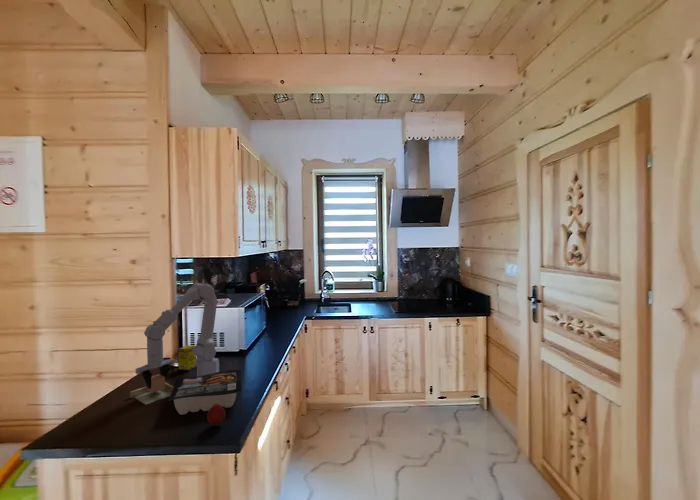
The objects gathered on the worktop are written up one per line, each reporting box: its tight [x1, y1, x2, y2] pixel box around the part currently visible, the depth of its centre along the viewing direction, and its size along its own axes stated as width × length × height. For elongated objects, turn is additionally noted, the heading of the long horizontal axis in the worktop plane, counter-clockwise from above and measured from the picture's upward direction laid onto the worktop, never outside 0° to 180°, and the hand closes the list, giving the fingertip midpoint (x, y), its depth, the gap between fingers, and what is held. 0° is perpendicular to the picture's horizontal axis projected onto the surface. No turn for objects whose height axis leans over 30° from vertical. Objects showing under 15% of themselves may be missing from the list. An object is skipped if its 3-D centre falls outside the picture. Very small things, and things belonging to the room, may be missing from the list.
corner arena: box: [129, 381, 174, 406], centre depth 141 cm, size 13×13×2 cm
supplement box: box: [177, 344, 197, 372], centre depth 170 cm, size 6×6×11 cm
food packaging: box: [167, 369, 242, 415], centre depth 136 cm, size 25×8×23 cm
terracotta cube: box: [147, 373, 166, 393], centre depth 143 cm, size 5×5×5 cm
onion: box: [206, 403, 226, 427], centre depth 117 cm, size 6×6×8 cm
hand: (156, 385), depth 143 cm, fingers closed on terracotta cube, 5 cm apart
